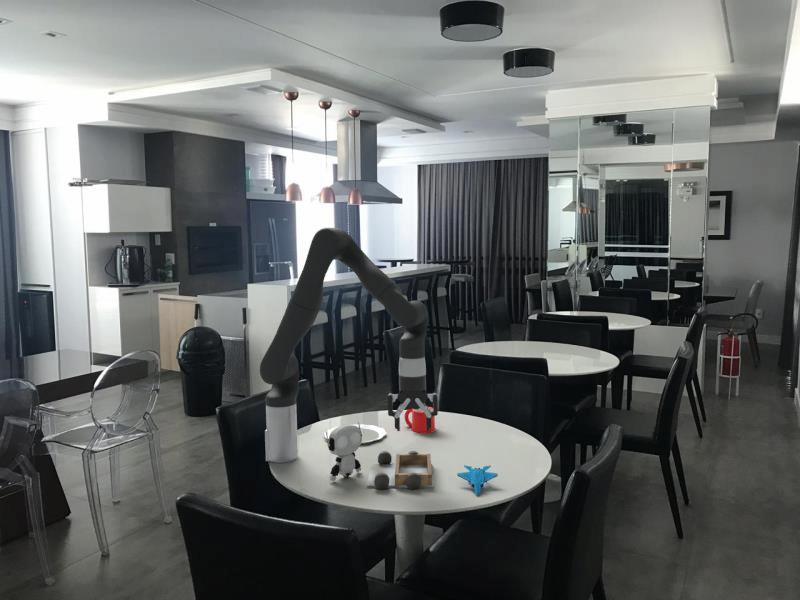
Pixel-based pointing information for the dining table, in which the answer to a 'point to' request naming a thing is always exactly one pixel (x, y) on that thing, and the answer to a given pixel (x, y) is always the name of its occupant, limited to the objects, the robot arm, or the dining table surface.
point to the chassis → (401, 471)
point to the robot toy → (345, 449)
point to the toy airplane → (477, 477)
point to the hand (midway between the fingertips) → (413, 430)
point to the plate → (369, 427)
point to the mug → (419, 420)
